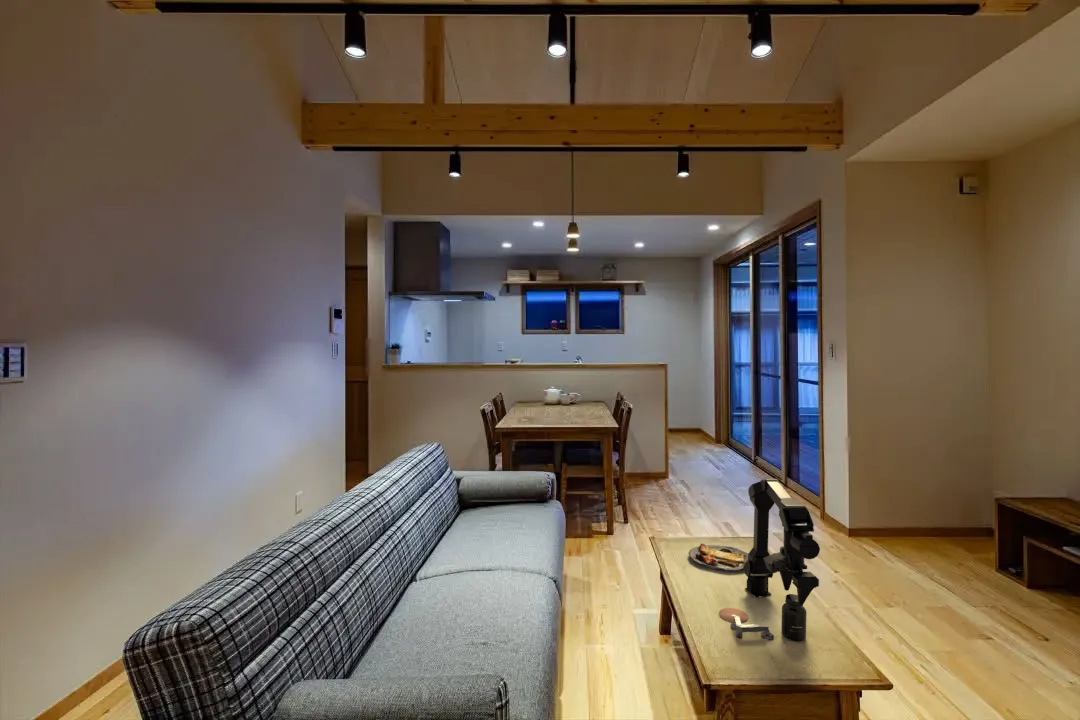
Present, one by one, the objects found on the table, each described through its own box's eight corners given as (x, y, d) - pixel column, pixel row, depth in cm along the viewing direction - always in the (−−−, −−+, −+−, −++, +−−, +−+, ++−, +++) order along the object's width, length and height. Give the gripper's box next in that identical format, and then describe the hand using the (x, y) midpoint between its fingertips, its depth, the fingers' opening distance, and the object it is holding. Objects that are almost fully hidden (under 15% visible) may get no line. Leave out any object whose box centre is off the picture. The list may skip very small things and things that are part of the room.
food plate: (680, 563, 224) (680, 554, 223) (699, 545, 243) (700, 537, 243) (744, 579, 209) (744, 570, 209) (759, 559, 228) (760, 551, 228)
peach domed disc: (737, 607, 186) (737, 606, 186) (754, 620, 178) (754, 619, 178) (713, 611, 184) (713, 610, 184) (729, 624, 175) (729, 623, 175)
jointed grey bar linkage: (753, 621, 177) (753, 610, 177) (776, 639, 167) (776, 627, 167) (723, 626, 174) (723, 615, 174) (744, 644, 164) (744, 632, 164)
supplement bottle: (795, 644, 163) (796, 604, 163) (776, 634, 170) (776, 595, 169) (811, 638, 167) (811, 599, 166) (791, 628, 173) (791, 590, 172)
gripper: (754, 535, 176) (754, 584, 177) (781, 558, 158) (780, 613, 158) (789, 534, 176) (789, 583, 177) (820, 558, 158) (819, 612, 158)
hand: (793, 597), depth 168 cm, fingers open, 9 cm apart
